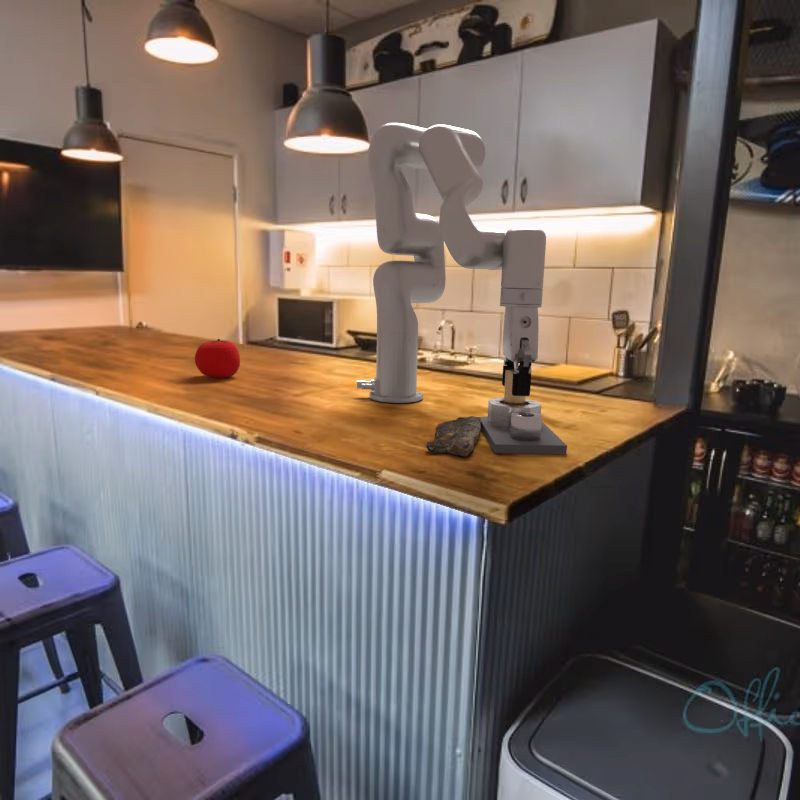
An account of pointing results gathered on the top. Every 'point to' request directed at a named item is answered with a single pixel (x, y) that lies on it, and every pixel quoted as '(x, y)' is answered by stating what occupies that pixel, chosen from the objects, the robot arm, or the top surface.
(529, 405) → the sockets
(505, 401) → the brass nipple
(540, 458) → the top surface
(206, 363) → the tomato
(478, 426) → the rock
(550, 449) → the fitting board
